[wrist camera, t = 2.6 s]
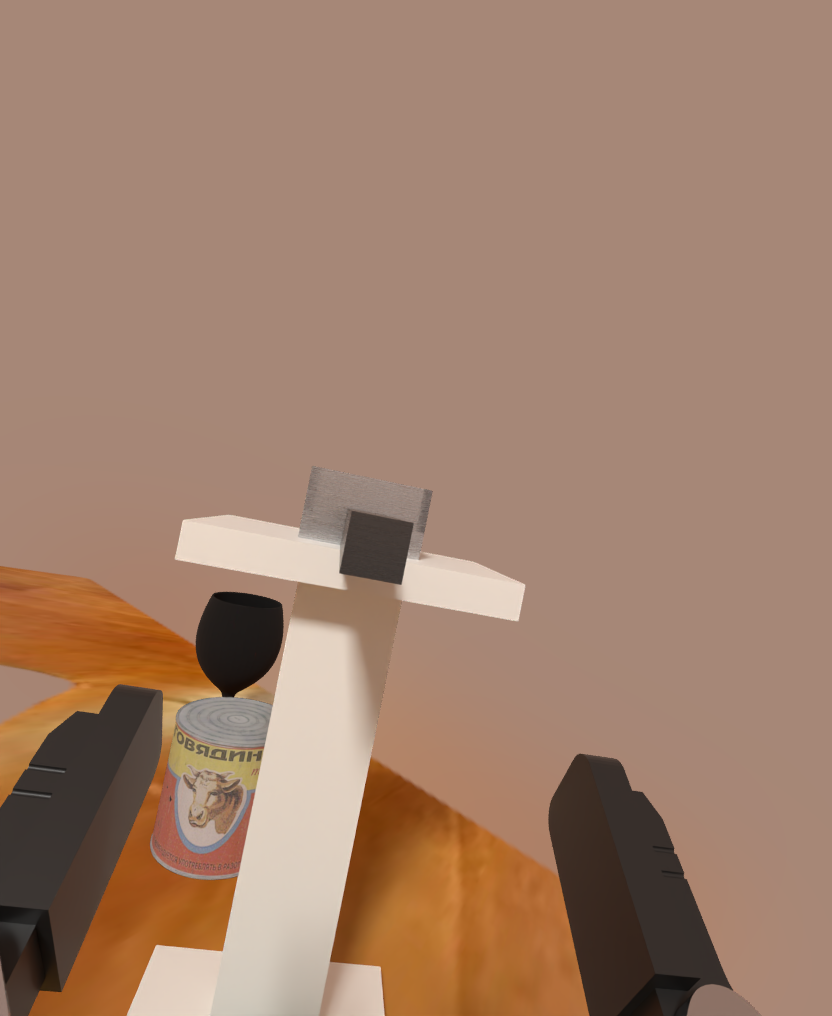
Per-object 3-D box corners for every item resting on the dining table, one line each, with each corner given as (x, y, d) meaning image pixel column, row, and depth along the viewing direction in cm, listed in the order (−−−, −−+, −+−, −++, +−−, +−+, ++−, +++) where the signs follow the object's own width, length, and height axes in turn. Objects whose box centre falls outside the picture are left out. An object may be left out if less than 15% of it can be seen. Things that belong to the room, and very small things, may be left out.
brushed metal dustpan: (467, 597, 20) (490, 483, 20) (268, 560, 19) (293, 442, 20) (405, 550, 40) (416, 492, 40) (305, 531, 39) (317, 472, 39)
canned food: (128, 867, 49) (156, 730, 50) (176, 801, 61) (199, 689, 61) (258, 889, 50) (285, 753, 50) (282, 819, 61) (304, 709, 61)
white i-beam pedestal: (408, 1178, 30) (525, 584, 31) (50, 1161, 28) (183, 519, 29) (389, 988, 42) (474, 561, 43) (137, 965, 40) (229, 514, 41)
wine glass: (167, 738, 74) (199, 586, 75) (247, 737, 79) (276, 595, 80) (177, 777, 65) (212, 605, 66) (266, 773, 70) (299, 613, 71)
